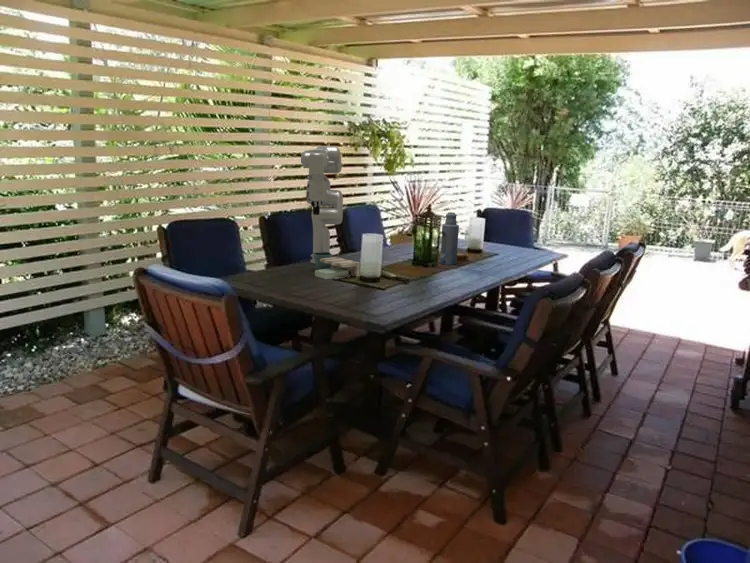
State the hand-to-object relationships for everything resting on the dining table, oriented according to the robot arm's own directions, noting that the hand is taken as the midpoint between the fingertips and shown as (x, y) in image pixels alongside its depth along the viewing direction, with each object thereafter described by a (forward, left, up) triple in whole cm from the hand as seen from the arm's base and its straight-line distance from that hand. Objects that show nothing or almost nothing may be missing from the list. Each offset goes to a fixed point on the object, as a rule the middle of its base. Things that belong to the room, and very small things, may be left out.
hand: (316, 214), depth 300 cm
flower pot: (-7, +10, -31) cm, 34 cm away
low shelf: (+8, +8, -31) cm, 33 cm away
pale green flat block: (+8, +4, -31) cm, 32 cm away
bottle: (+18, +82, -31) cm, 90 cm away
